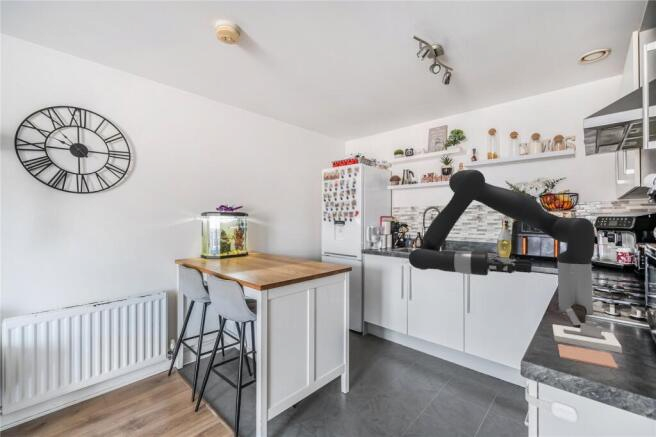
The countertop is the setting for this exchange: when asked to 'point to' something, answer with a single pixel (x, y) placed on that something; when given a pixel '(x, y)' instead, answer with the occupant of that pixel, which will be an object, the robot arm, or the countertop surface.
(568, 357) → the mat
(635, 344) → the countertop surface
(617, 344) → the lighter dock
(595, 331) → the lighter
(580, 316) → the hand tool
